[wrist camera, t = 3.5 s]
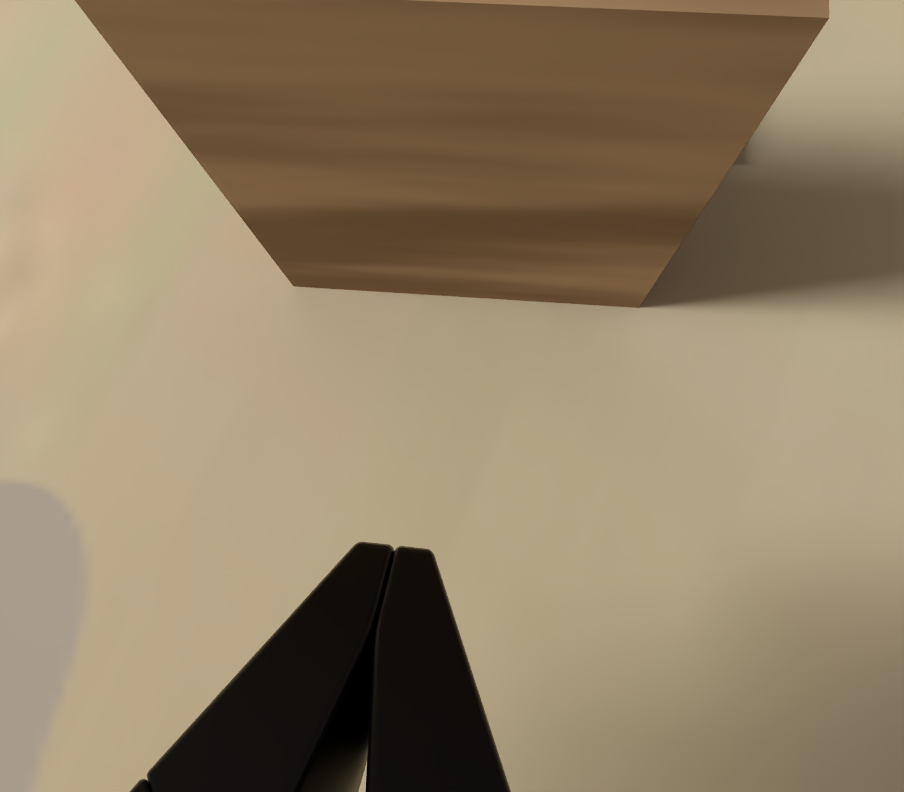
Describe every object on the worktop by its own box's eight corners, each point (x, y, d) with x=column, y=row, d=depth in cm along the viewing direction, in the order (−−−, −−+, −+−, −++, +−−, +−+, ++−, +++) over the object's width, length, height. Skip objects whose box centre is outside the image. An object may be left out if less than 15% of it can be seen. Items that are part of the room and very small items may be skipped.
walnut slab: (638, 307, 23) (829, 17, 10) (293, 286, 24) (64, -14, 11) (643, 177, 24) (827, -249, 11) (308, 159, 24) (109, -267, 11)
